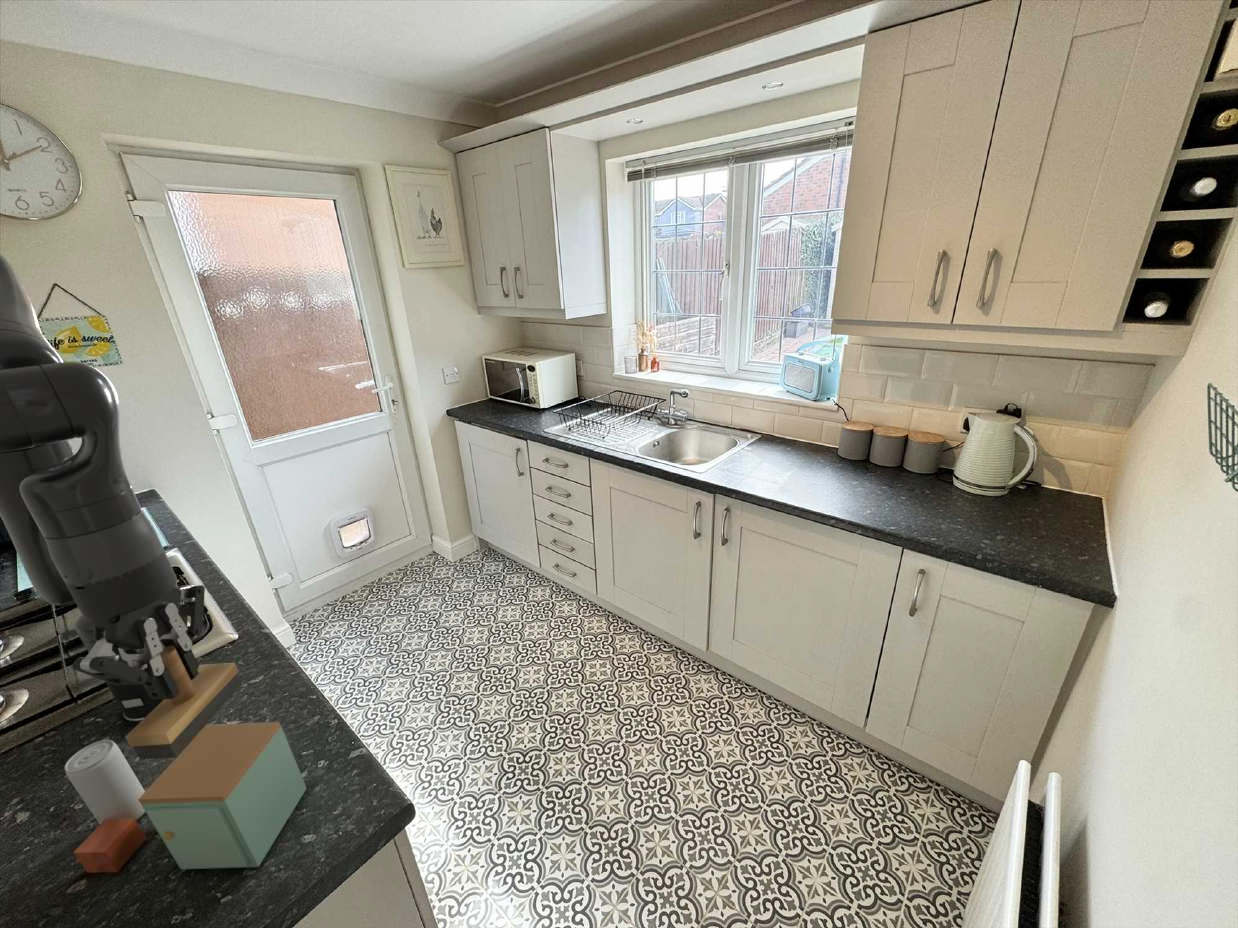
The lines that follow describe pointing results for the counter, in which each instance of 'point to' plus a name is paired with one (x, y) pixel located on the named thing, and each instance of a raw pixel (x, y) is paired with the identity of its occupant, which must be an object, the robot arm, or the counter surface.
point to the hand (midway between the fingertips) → (178, 686)
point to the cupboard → (226, 796)
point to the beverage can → (106, 782)
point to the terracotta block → (110, 845)
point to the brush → (183, 707)
